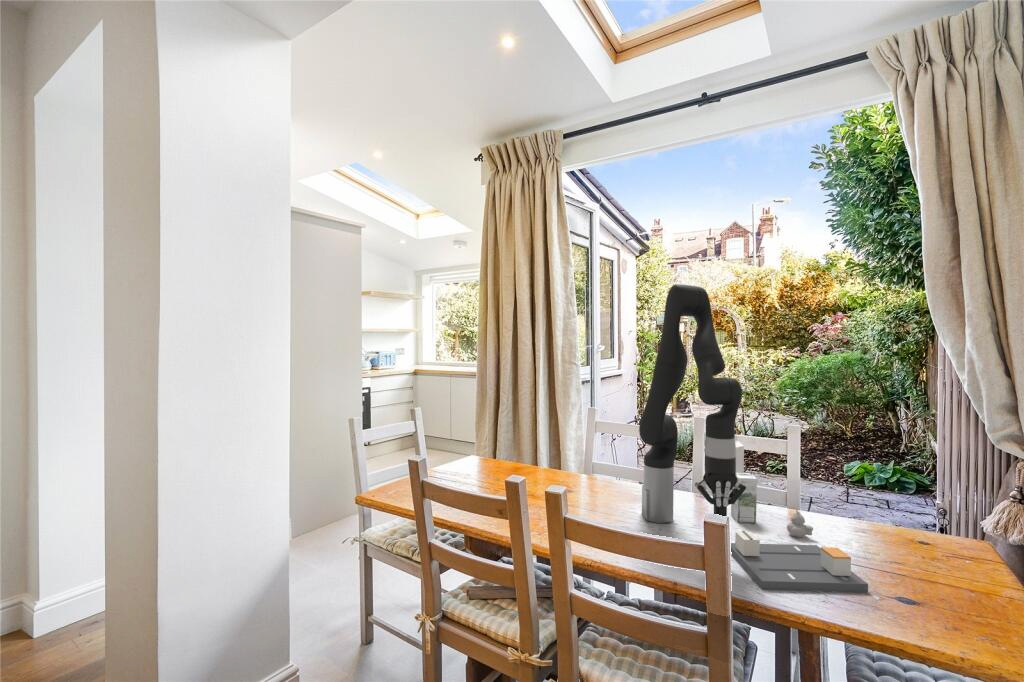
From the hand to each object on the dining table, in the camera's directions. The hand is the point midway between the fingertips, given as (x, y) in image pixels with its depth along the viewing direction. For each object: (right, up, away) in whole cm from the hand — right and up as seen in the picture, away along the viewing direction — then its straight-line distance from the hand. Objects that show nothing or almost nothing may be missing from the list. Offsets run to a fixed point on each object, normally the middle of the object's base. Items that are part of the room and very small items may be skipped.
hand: (720, 519), depth 125 cm
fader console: (+16, -11, -5) cm, 20 cm away
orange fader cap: (+24, -9, -10) cm, 27 cm away
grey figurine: (+30, -11, +14) cm, 35 cm away
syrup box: (+19, -11, +27) cm, 35 cm away
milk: (+25, -10, +49) cm, 56 cm away
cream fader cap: (+7, -9, 0) cm, 11 cm away
